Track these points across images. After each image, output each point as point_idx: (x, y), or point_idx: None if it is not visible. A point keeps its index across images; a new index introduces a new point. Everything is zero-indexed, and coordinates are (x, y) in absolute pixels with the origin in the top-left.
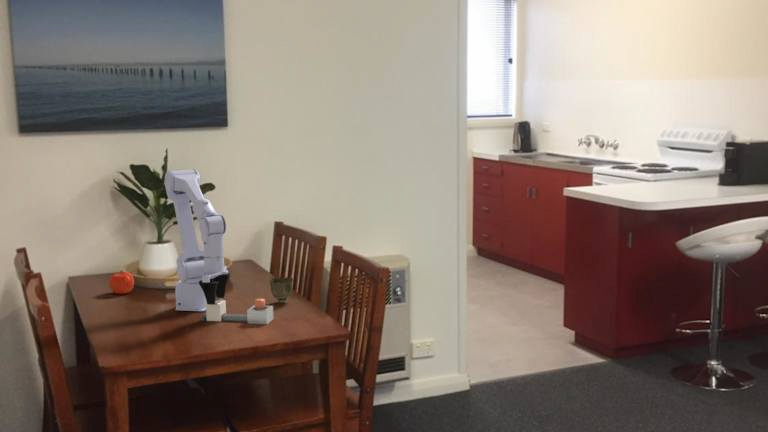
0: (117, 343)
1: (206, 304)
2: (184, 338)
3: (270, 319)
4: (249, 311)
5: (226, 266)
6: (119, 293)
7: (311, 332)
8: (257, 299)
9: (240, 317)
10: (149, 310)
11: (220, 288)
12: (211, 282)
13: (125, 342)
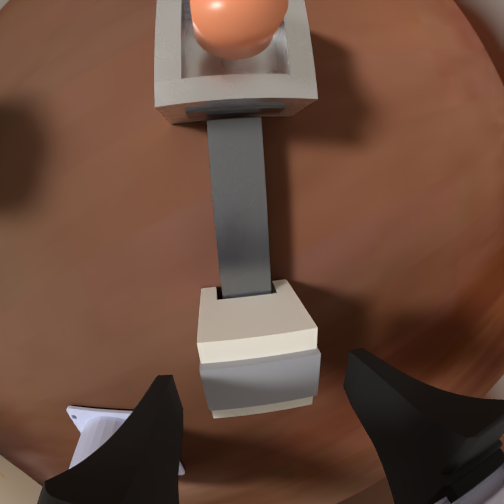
0: None
1: (310, 399)
2: (473, 293)
3: None
4: (313, 84)
5: None
6: None
7: None
8: (229, 18)
9: (264, 170)
10: (206, 499)
11: (166, 445)
12: (483, 452)
13: (465, 393)
